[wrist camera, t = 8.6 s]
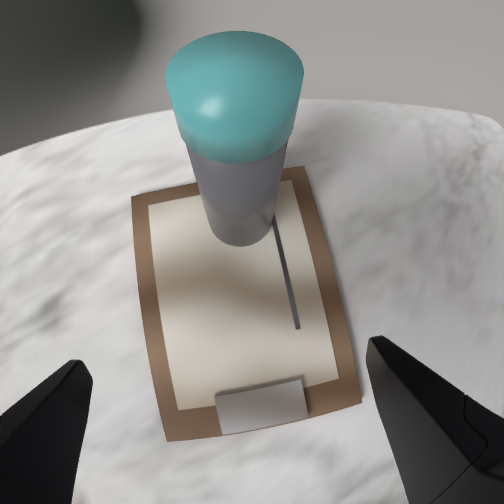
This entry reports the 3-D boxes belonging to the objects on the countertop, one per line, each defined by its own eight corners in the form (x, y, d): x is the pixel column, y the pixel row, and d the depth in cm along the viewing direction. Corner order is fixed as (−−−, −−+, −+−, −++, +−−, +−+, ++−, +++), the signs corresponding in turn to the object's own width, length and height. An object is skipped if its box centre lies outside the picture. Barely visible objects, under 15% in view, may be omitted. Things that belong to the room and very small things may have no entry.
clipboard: (358, 401, 17) (364, 404, 16) (169, 439, 16) (165, 444, 15) (302, 170, 22) (305, 162, 21) (133, 200, 21) (129, 193, 20)
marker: (286, 226, 20) (332, 84, 8) (228, 261, 19) (203, 138, 7) (249, 173, 21) (252, 18, 9) (193, 203, 20) (144, 56, 8)
